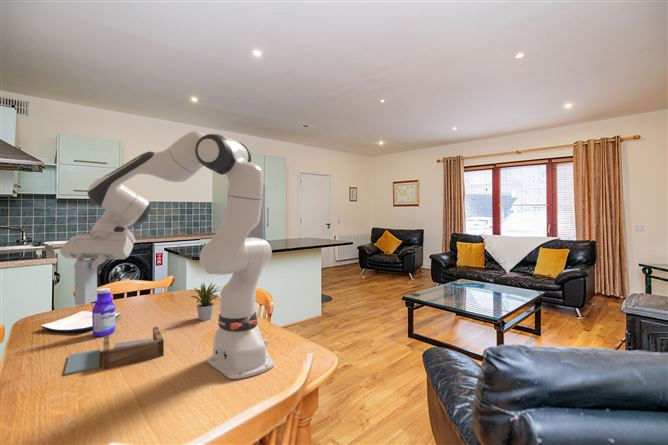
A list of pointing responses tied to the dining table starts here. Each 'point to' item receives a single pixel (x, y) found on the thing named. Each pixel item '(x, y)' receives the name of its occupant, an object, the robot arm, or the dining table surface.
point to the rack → (133, 351)
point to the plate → (73, 323)
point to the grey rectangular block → (85, 283)
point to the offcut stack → (131, 343)
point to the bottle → (103, 313)
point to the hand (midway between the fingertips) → (84, 268)
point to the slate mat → (82, 362)
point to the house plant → (205, 301)
